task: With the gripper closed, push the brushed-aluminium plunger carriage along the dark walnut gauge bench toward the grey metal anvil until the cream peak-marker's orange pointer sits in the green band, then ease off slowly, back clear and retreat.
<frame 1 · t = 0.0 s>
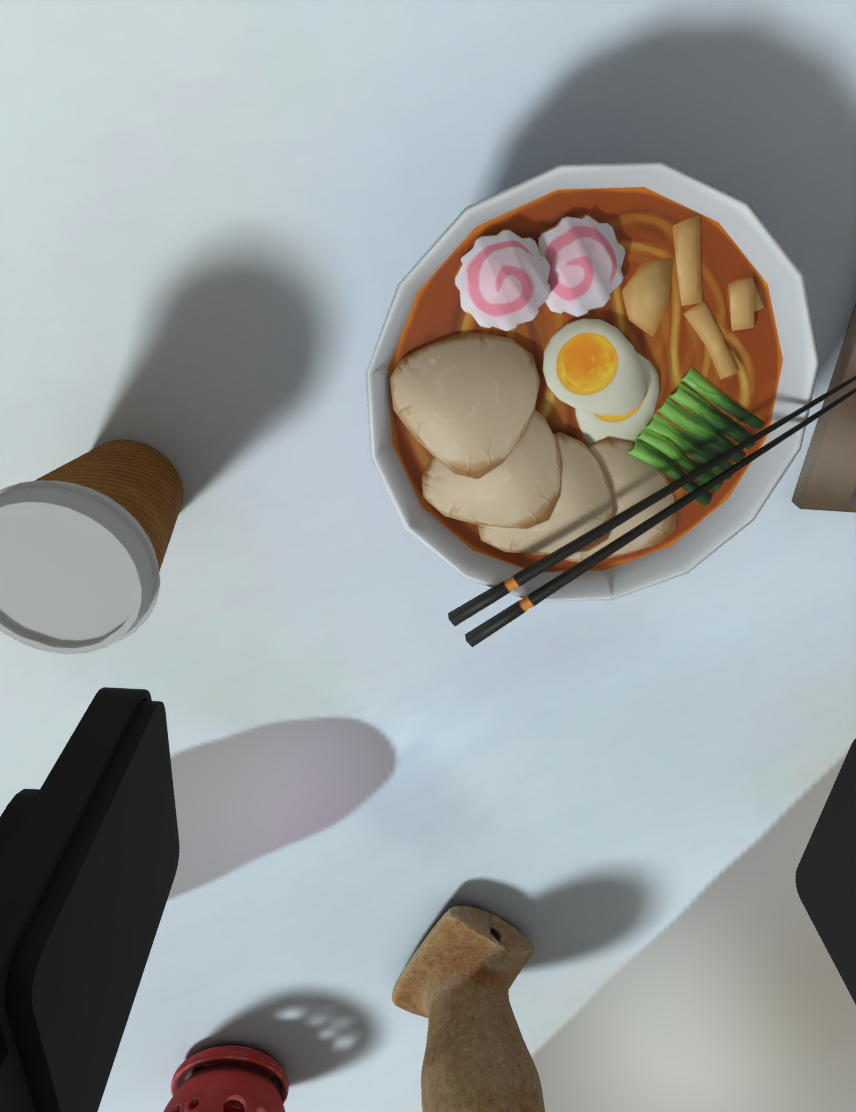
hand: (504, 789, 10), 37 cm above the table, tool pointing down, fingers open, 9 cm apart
ramen bowl: (563, 374, 45), on the table
disposable coffee cup: (133, 485, 48), on the table
plant pot: (236, 1066, 78), on the table
brown boot-shaped piece: (469, 954, 70), on the table
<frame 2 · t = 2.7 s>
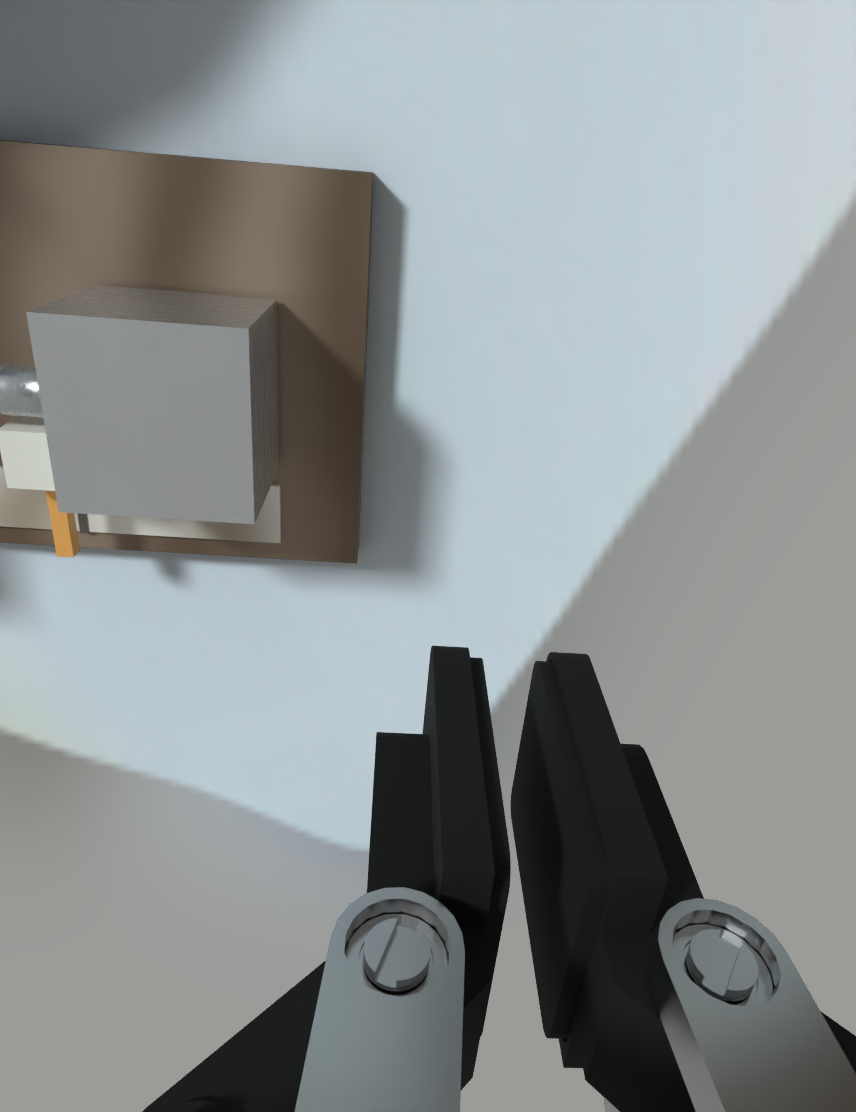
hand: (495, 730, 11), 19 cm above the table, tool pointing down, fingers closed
gauge bench: (6, 356, 27), on the table
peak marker: (59, 487, 27), point 3 cm above the table, slide at 0.0 cm
gauge plunger: (100, 396, 24), point 4 cm above the table, slide at 0.0 cm
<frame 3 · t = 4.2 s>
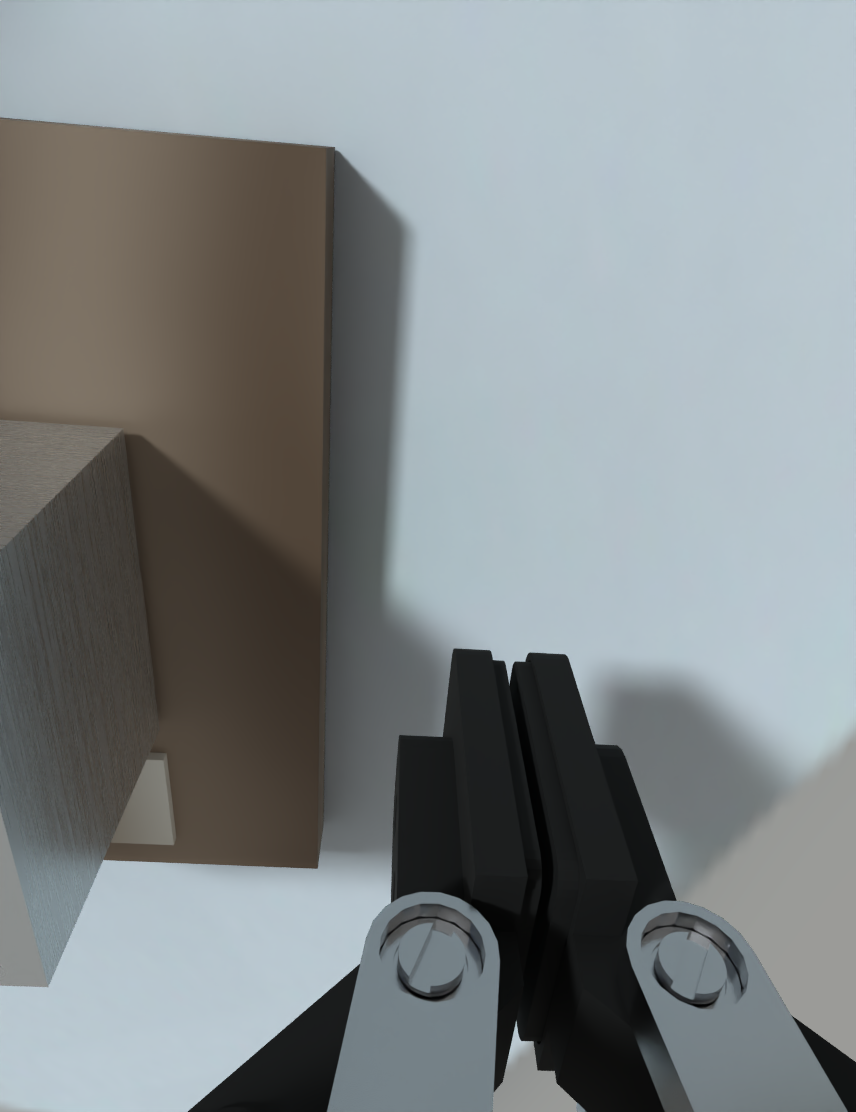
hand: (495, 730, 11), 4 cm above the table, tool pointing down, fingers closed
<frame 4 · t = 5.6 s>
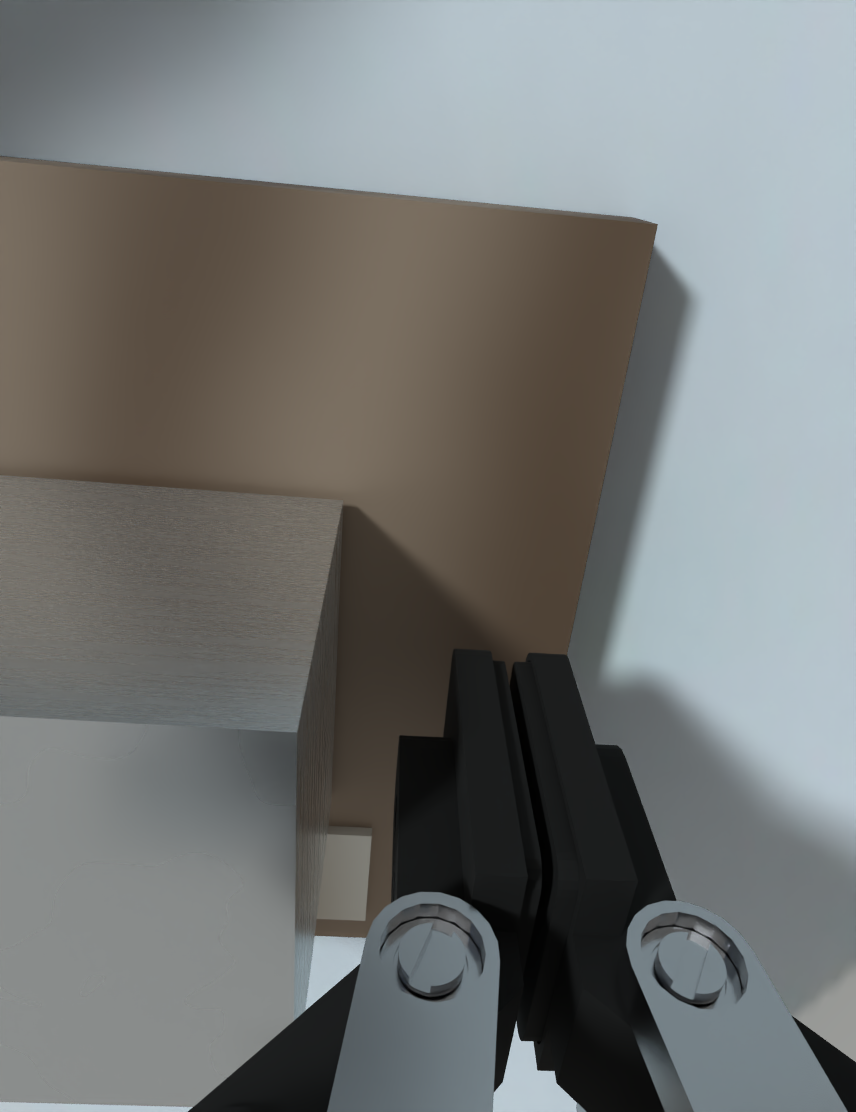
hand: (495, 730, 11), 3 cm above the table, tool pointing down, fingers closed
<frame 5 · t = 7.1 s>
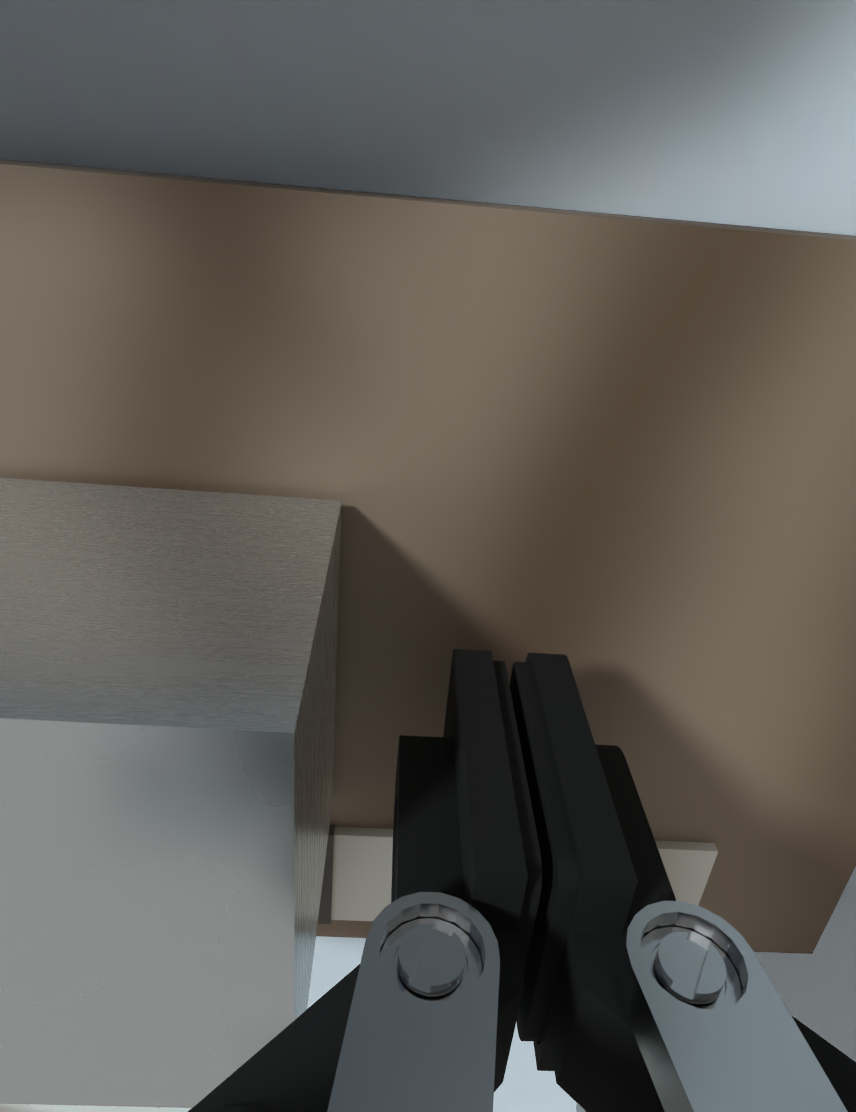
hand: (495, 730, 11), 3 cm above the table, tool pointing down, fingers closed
gauge bench: (196, 613, 13), on the table
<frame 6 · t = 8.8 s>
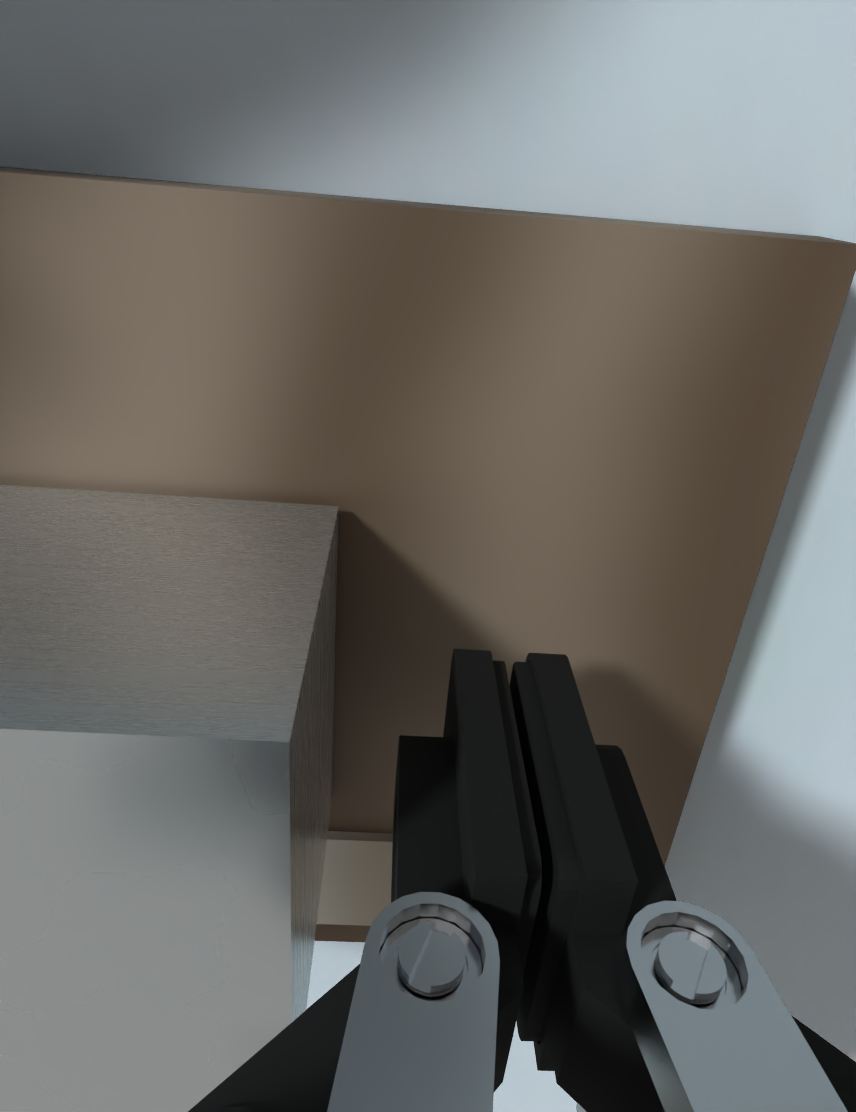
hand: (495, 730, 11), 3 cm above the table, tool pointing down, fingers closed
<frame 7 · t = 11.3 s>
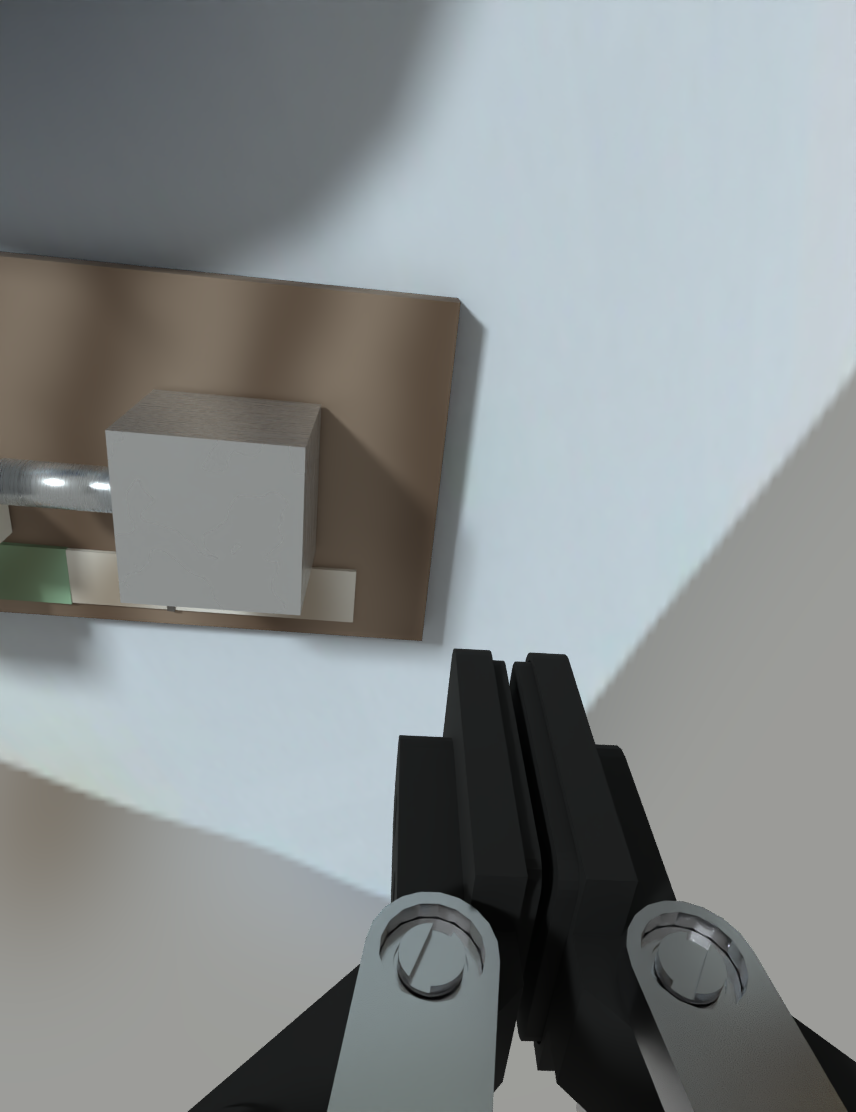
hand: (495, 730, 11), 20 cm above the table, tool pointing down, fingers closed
gauge bench: (108, 450, 30), on the table
gauge plunger: (159, 494, 26), point 4 cm above the table, slide at 1.7 cm
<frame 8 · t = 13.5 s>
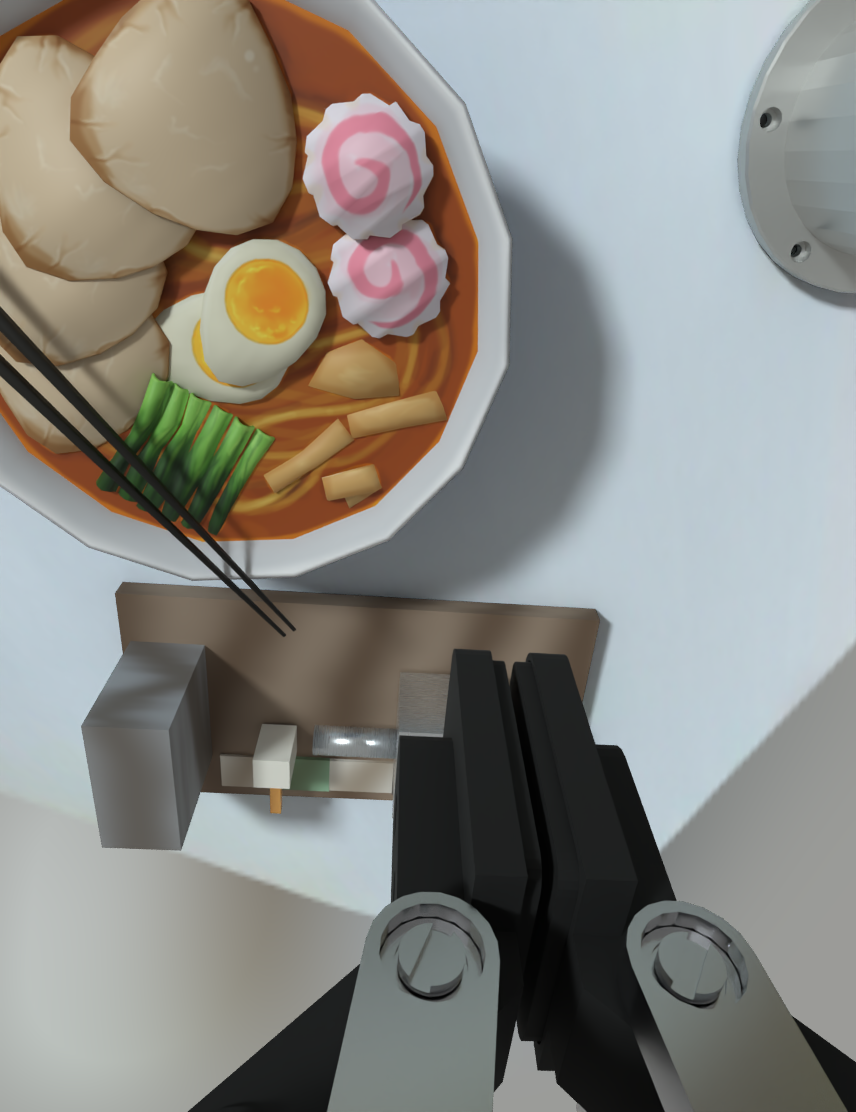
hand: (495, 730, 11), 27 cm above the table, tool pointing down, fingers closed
gauge bench: (358, 696, 45), on the table
ramen bowl: (243, 281, 34), on the table
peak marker: (276, 776, 44), point 3 cm above the table, slide at 7.0 cm
gauge plunger: (410, 744, 42), point 4 cm above the table, slide at 1.7 cm
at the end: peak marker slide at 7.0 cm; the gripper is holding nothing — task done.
